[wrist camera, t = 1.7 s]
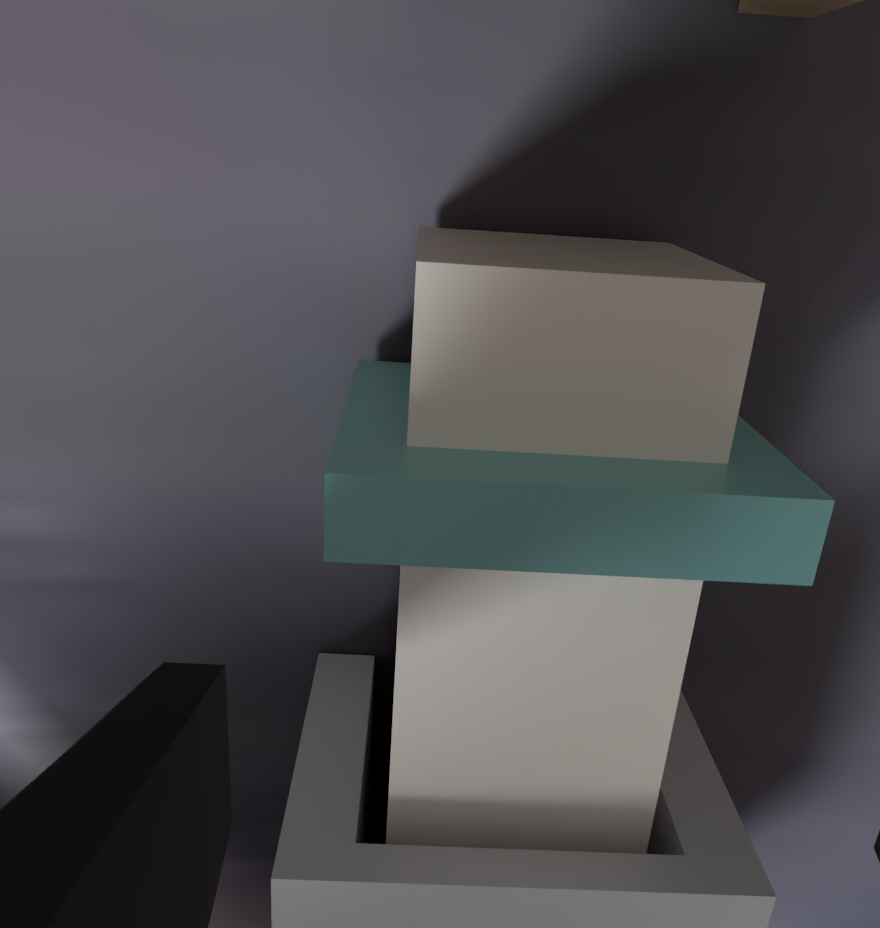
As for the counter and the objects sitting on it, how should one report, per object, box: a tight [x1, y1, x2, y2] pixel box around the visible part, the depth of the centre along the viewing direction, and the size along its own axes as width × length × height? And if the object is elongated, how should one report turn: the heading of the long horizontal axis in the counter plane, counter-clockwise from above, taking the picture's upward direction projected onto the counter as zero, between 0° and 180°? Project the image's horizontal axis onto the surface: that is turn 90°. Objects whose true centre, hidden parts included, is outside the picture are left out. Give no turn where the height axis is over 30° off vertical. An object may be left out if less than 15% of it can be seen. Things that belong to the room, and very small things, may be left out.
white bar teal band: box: [323, 227, 835, 854], centre depth 12 cm, size 5×12×4 cm, turn 176°
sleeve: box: [271, 653, 776, 928], centre depth 14 cm, size 6×6×5 cm
